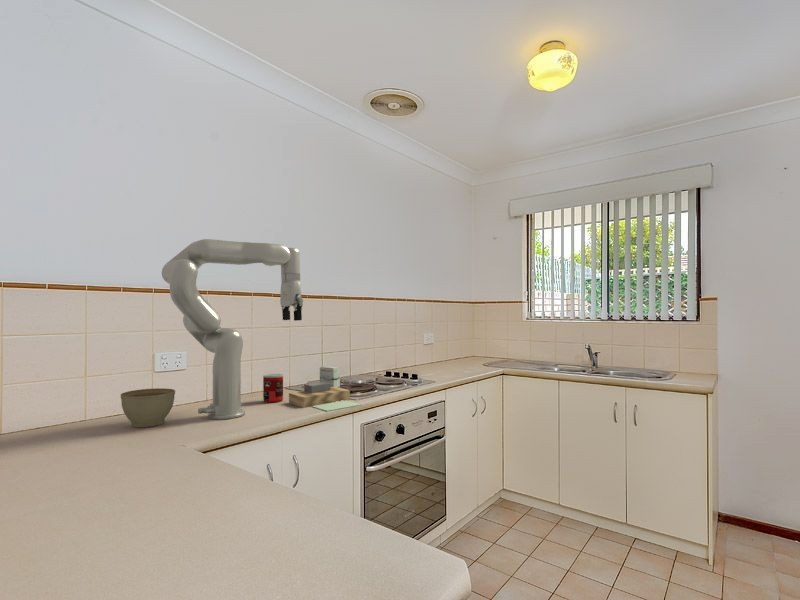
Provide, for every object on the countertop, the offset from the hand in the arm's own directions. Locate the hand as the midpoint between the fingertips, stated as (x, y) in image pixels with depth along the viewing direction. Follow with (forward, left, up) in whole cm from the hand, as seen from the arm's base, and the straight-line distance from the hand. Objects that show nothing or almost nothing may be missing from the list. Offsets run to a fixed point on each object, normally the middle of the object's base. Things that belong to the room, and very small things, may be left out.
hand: (292, 320), depth 182 cm
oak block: (+11, -4, -34) cm, 36 cm away
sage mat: (+11, -16, -34) cm, 39 cm away
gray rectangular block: (+11, -2, -29) cm, 30 cm away
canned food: (-3, +10, -34) cm, 36 cm away
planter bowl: (-51, +4, -34) cm, 62 cm away
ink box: (+25, +10, -34) cm, 44 cm away
